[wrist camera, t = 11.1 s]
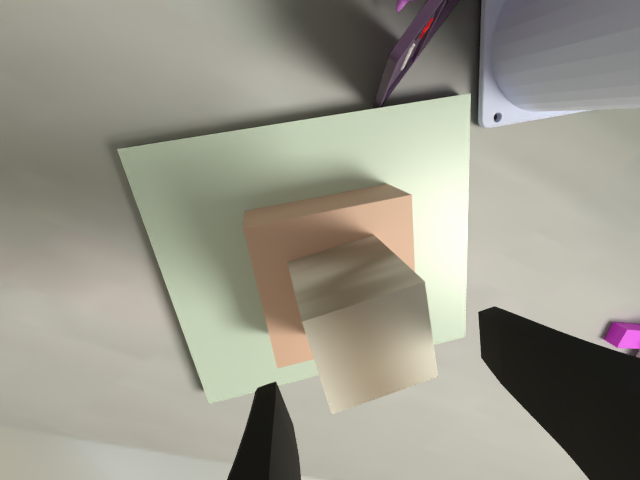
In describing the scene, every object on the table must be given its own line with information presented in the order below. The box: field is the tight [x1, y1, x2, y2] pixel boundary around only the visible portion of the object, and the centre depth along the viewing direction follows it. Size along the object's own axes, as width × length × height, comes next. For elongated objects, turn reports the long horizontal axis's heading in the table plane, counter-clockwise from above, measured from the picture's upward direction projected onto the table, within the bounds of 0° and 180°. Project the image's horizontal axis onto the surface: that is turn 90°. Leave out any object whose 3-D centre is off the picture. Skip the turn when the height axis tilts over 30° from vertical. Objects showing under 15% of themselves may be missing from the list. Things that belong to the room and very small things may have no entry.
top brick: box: [287, 235, 438, 414], centre depth 14 cm, size 4×4×5 cm
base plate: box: [117, 93, 471, 404], centre depth 20 cm, size 18×16×1 cm
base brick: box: [243, 184, 415, 369], centre depth 18 cm, size 8×8×3 cm
